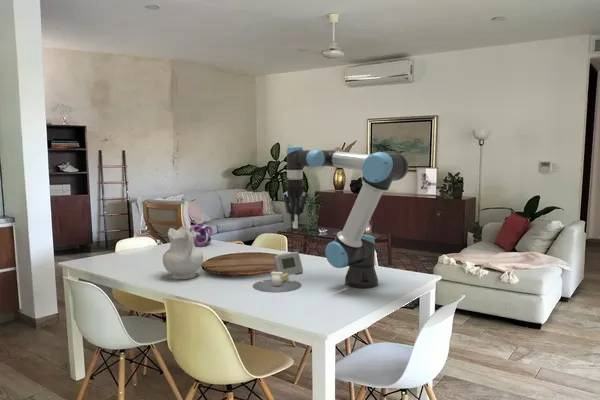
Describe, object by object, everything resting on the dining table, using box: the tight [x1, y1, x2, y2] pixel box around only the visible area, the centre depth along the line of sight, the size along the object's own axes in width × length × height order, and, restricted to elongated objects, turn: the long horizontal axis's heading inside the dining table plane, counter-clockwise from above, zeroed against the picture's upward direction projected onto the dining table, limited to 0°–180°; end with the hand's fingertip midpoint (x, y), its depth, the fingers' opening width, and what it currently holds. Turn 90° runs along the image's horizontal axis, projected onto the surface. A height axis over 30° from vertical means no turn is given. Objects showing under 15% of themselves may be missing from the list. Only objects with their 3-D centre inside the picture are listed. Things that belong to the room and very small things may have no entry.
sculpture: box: [189, 223, 214, 248], centre depth 307 cm, size 16×17×20 cm
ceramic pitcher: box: [162, 225, 204, 280], centre depth 225 cm, size 22×20×25 cm
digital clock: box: [273, 251, 304, 276], centre depth 230 cm, size 16×9×11 cm, turn 122°
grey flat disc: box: [252, 278, 302, 294], centre depth 208 cm, size 22×22×1 cm
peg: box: [270, 271, 290, 286], centre depth 212 cm, size 13×5×6 cm, turn 157°
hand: (295, 228), depth 221 cm, fingers closed
